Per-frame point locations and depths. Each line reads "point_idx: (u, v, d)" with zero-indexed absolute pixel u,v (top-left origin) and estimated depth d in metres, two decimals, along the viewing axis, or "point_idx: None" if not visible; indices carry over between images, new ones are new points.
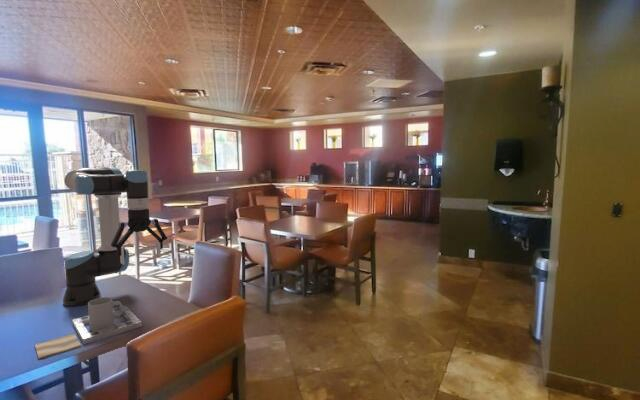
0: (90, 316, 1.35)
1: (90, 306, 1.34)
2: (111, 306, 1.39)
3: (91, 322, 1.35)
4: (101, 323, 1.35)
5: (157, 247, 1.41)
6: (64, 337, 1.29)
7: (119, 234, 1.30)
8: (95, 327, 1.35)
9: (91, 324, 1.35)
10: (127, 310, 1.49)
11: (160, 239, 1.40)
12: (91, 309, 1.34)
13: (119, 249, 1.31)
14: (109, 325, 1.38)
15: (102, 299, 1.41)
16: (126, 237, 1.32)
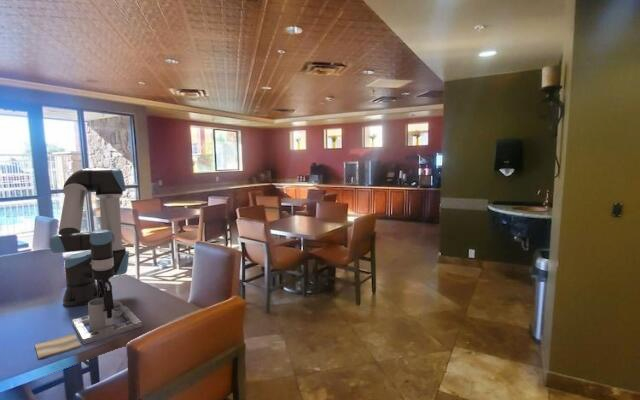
0: (90, 316, 1.34)
1: (90, 306, 1.34)
2: None
3: (91, 322, 1.35)
4: (101, 323, 1.35)
5: None
6: (64, 337, 1.29)
7: (97, 289, 1.42)
8: (95, 327, 1.35)
9: (91, 324, 1.35)
10: (127, 310, 1.49)
11: (105, 308, 1.34)
12: (91, 310, 1.34)
13: None
14: (109, 325, 1.37)
15: (102, 299, 1.41)
16: (99, 293, 1.41)
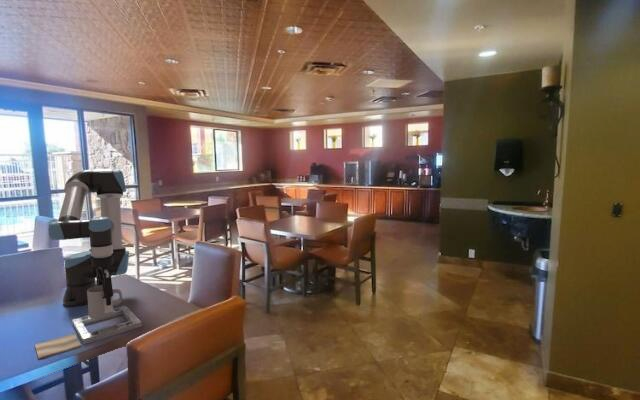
0: (89, 303, 1.34)
1: (89, 293, 1.33)
2: None
3: (90, 309, 1.34)
4: (100, 310, 1.35)
5: None
6: (64, 337, 1.29)
7: (96, 276, 1.42)
8: (94, 314, 1.34)
9: (90, 311, 1.34)
10: (127, 310, 1.49)
11: (104, 295, 1.34)
12: (91, 297, 1.33)
13: None
14: (108, 313, 1.37)
15: (101, 287, 1.41)
16: (98, 281, 1.40)
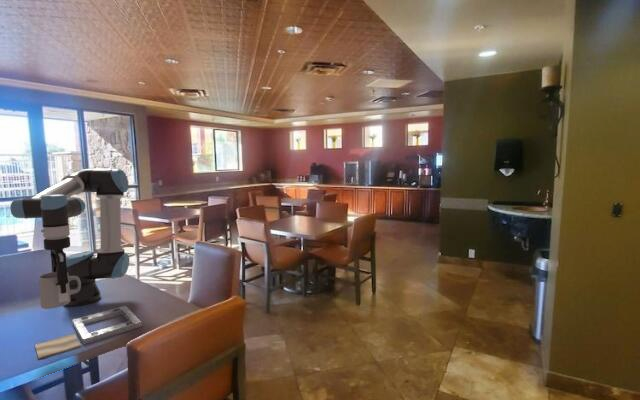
0: (41, 291, 1.18)
1: (41, 280, 1.18)
2: None
3: (42, 298, 1.19)
4: (54, 299, 1.19)
5: None
6: (64, 337, 1.29)
7: None
8: (47, 304, 1.19)
9: (42, 300, 1.19)
10: (127, 310, 1.49)
11: (58, 281, 1.19)
12: (42, 283, 1.18)
13: None
14: (64, 302, 1.21)
15: None
16: (53, 267, 1.25)
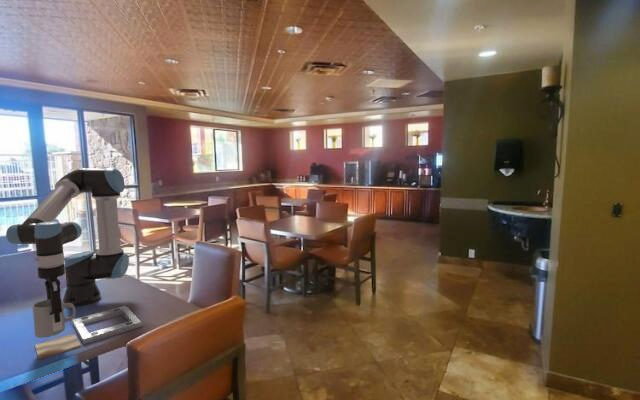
0: (35, 320, 1.18)
1: (35, 309, 1.17)
2: None
3: (36, 327, 1.18)
4: (48, 328, 1.18)
5: None
6: (64, 337, 1.29)
7: None
8: (41, 333, 1.18)
9: (36, 329, 1.18)
10: (127, 310, 1.49)
11: (52, 310, 1.18)
12: (36, 313, 1.17)
13: None
14: (58, 330, 1.20)
15: None
16: (48, 294, 1.24)
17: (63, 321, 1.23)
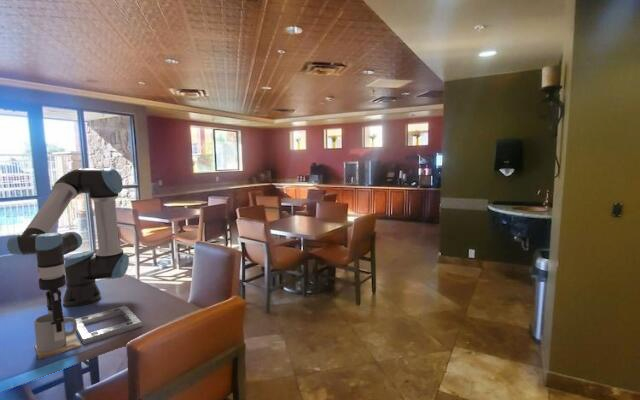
0: (36, 335, 1.18)
1: (36, 324, 1.18)
2: None
3: (38, 342, 1.18)
4: (49, 343, 1.19)
5: None
6: None
7: None
8: (42, 348, 1.18)
9: (38, 344, 1.19)
10: (127, 310, 1.49)
11: None
12: (38, 328, 1.18)
13: None
14: (59, 345, 1.21)
15: None
16: (48, 302, 1.25)
17: (64, 335, 1.24)
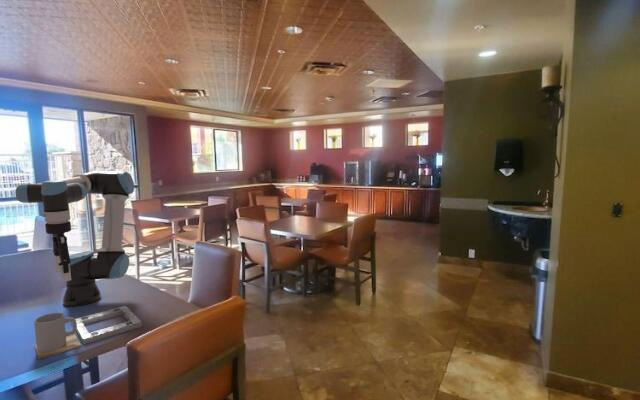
0: (36, 335, 1.18)
1: (36, 324, 1.18)
2: (62, 323, 1.22)
3: (38, 342, 1.18)
4: (49, 343, 1.19)
5: None
6: None
7: None
8: (42, 348, 1.18)
9: (38, 344, 1.19)
10: (127, 310, 1.49)
11: (60, 262, 1.22)
12: (38, 328, 1.18)
13: None
14: (59, 345, 1.21)
15: (53, 315, 1.25)
16: (54, 247, 1.31)
17: (64, 335, 1.24)
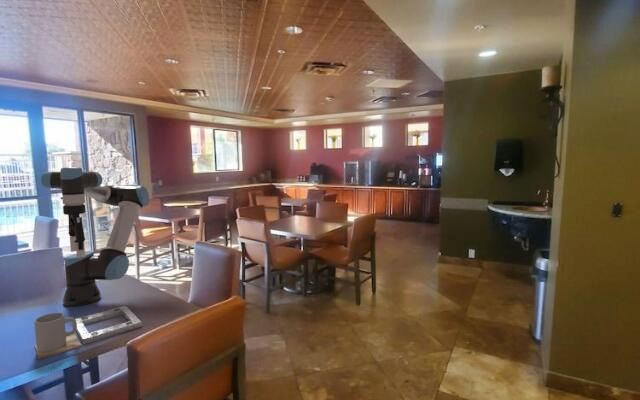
0: (37, 335, 1.18)
1: (36, 324, 1.18)
2: (62, 323, 1.22)
3: (38, 342, 1.18)
4: (49, 343, 1.19)
5: None
6: None
7: None
8: (42, 348, 1.18)
9: (38, 344, 1.19)
10: (127, 310, 1.49)
11: (76, 239, 1.36)
12: (38, 328, 1.18)
13: None
14: (59, 345, 1.21)
15: (53, 315, 1.25)
16: (70, 228, 1.44)
17: (64, 335, 1.24)
